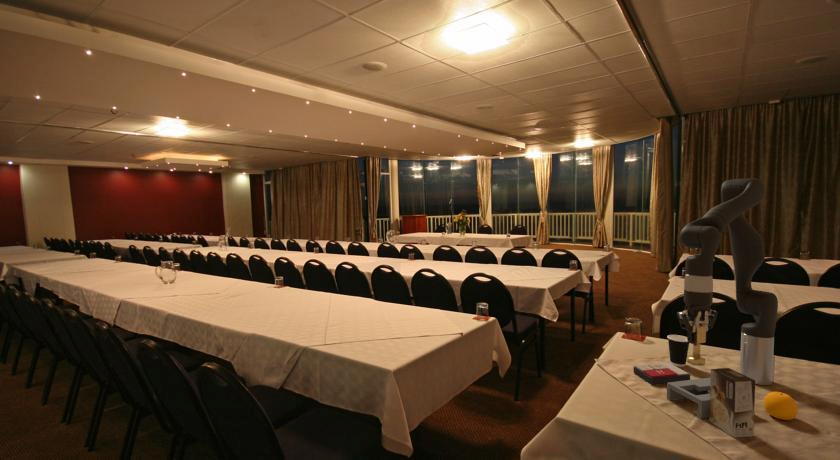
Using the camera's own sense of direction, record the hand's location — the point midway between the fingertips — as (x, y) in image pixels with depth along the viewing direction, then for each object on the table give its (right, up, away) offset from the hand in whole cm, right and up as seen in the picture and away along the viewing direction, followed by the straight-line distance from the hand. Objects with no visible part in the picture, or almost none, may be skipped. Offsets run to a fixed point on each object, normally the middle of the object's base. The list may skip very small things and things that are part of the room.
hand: (696, 342), depth 128 cm
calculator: (+2, -20, +23) cm, 31 cm away
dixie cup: (+17, -19, +35) cm, 44 cm away
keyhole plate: (+5, -21, +2) cm, 21 cm away
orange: (+22, -21, -5) cm, 31 cm away
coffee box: (+2, -22, -12) cm, 25 cm away
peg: (0, -7, 0) cm, 7 cm away
